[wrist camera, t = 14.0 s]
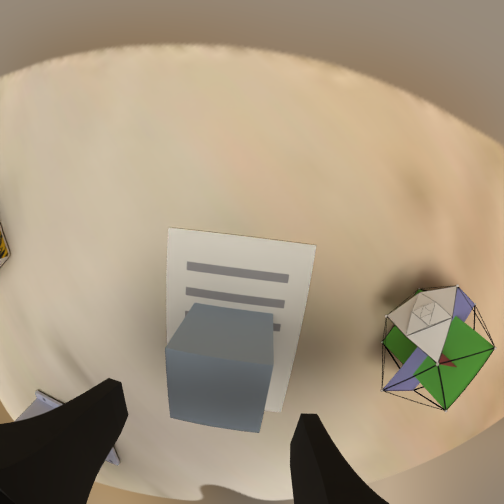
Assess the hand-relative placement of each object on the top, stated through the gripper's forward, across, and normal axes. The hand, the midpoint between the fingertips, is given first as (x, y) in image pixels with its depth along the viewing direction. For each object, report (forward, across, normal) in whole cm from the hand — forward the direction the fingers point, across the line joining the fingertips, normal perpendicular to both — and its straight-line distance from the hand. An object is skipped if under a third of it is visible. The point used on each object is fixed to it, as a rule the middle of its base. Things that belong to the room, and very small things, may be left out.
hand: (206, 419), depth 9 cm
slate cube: (+7, 0, 0) cm, 7 cm away
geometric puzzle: (+7, -12, -2) cm, 14 cm away
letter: (+7, 0, 0) cm, 7 cm away
